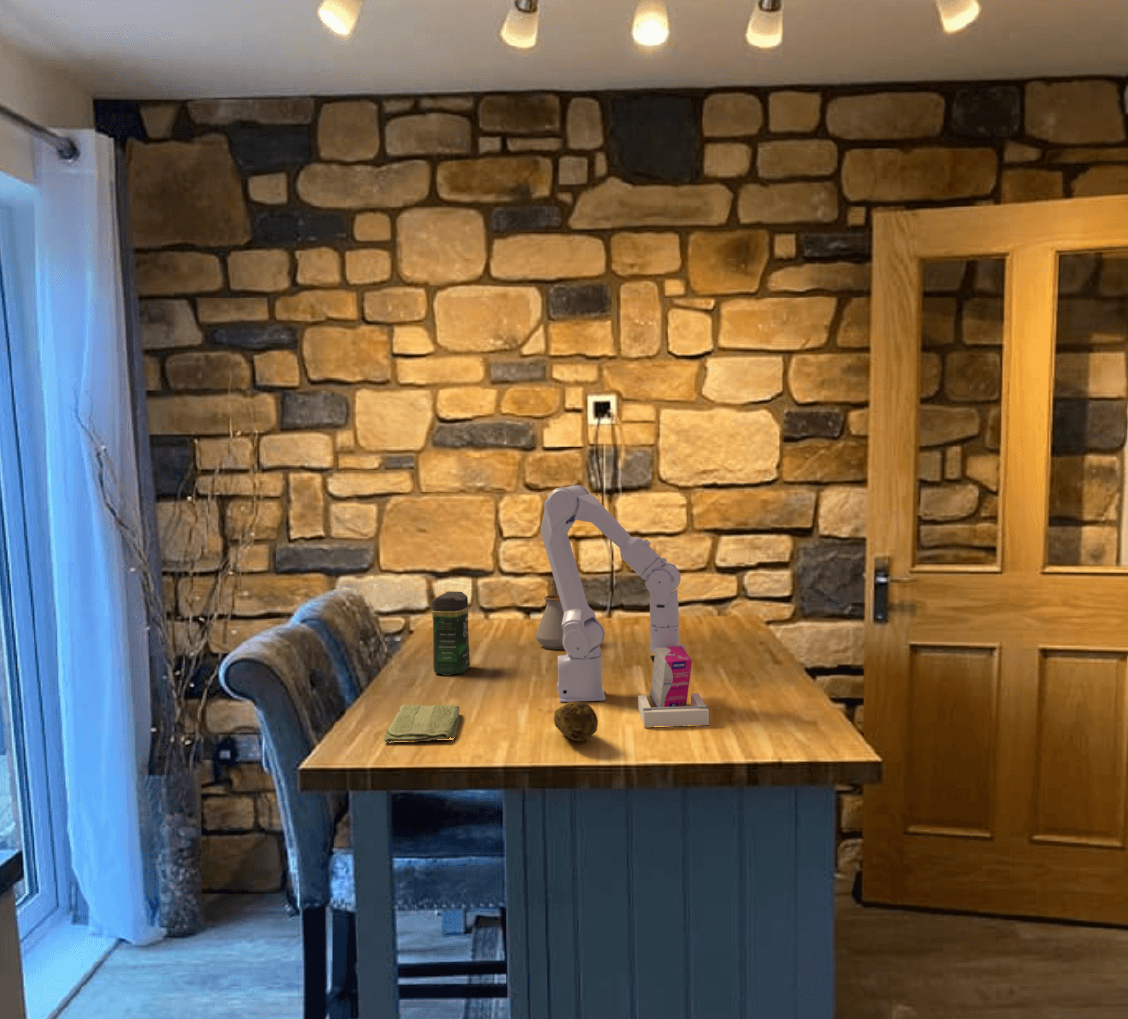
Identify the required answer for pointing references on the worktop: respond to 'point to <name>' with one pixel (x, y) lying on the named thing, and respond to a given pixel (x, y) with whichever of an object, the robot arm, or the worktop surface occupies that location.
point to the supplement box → (670, 677)
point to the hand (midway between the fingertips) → (665, 690)
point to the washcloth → (424, 723)
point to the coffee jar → (450, 633)
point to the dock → (674, 713)
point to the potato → (576, 720)
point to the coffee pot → (551, 622)
